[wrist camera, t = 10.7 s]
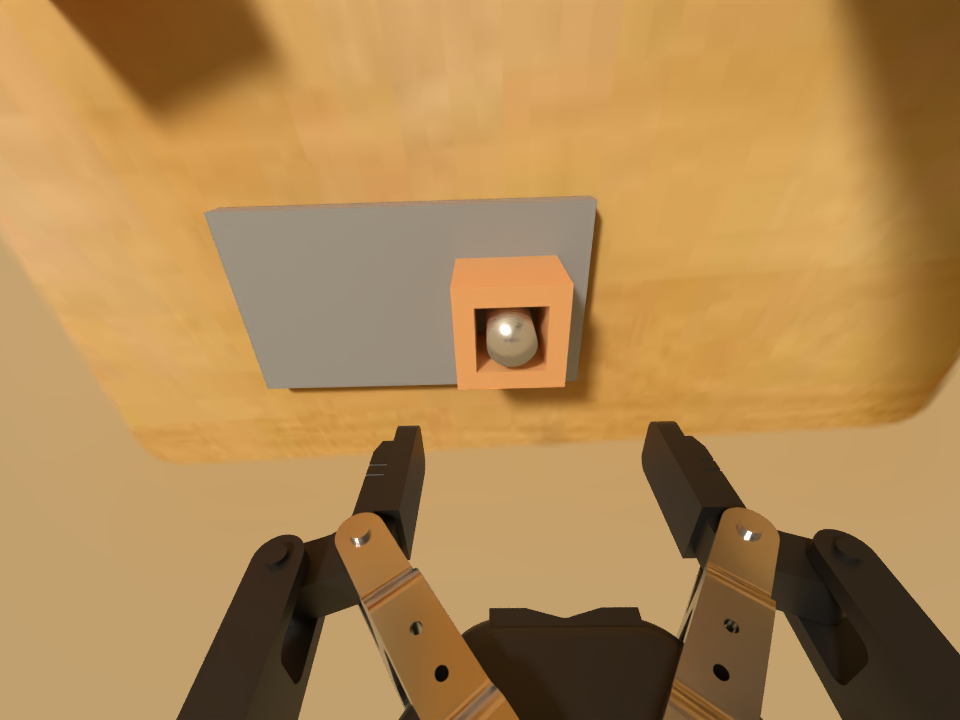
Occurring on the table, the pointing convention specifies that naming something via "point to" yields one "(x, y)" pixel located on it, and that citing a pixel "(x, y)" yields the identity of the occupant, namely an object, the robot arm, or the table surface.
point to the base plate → (383, 281)
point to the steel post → (510, 335)
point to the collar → (503, 288)
